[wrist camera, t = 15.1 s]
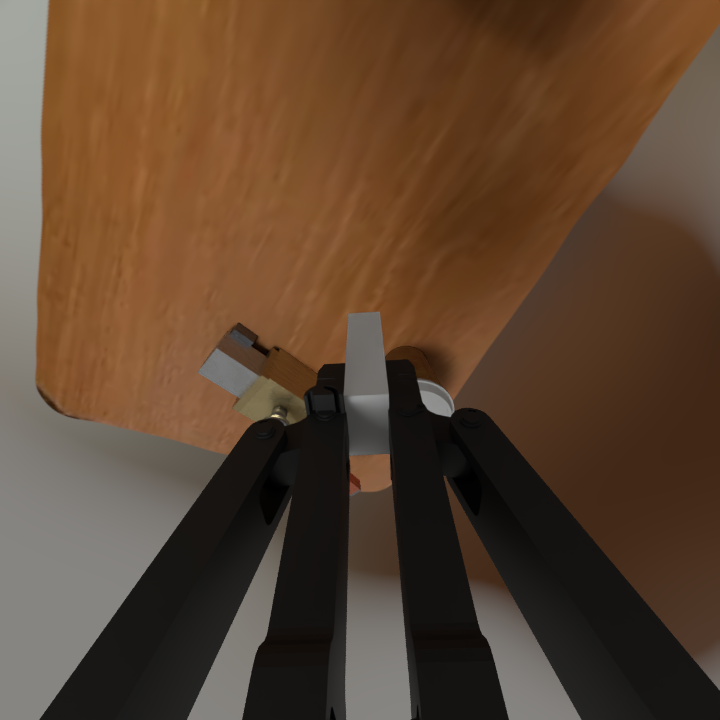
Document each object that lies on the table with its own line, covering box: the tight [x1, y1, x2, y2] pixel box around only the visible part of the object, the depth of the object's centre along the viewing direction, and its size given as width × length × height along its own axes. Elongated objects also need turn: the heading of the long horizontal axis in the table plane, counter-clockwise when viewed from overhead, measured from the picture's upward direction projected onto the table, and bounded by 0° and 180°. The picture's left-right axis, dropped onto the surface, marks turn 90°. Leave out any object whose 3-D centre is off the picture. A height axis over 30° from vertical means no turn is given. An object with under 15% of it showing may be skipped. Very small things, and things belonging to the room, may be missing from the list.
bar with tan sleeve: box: [198, 323, 318, 424], centre depth 51 cm, size 22×7×10 cm, turn 48°
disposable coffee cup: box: [385, 346, 454, 417], centre depth 49 cm, size 10×10×12 cm
